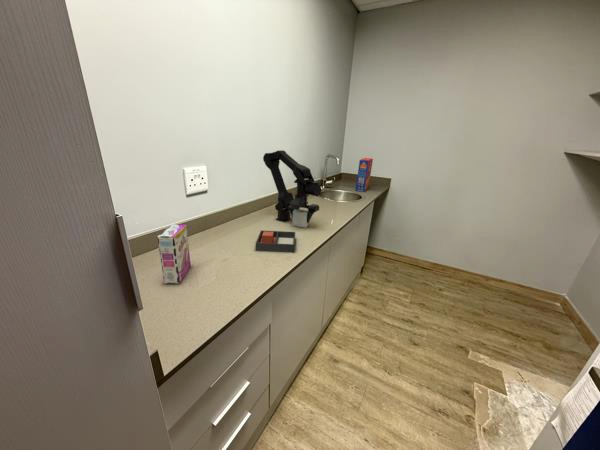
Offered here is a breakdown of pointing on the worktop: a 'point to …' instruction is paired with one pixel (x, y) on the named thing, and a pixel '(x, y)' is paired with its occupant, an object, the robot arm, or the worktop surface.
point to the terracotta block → (267, 237)
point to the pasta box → (364, 174)
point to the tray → (277, 242)
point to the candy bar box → (174, 253)
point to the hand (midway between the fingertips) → (300, 220)
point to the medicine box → (300, 218)
